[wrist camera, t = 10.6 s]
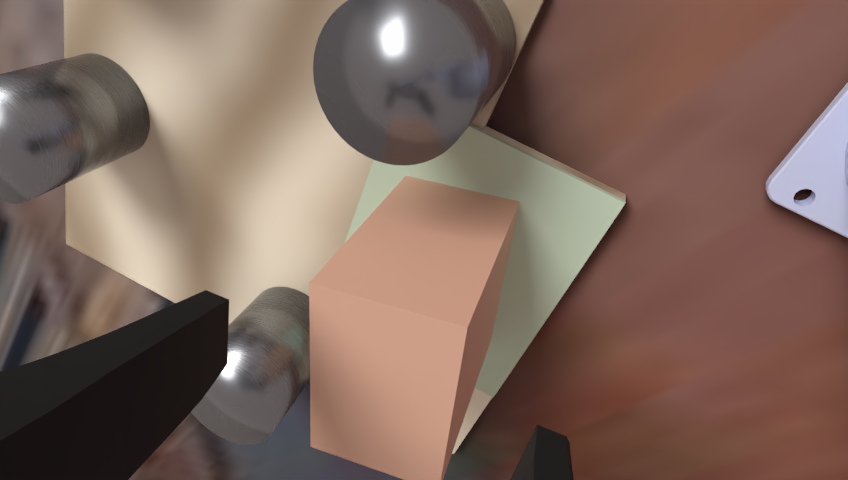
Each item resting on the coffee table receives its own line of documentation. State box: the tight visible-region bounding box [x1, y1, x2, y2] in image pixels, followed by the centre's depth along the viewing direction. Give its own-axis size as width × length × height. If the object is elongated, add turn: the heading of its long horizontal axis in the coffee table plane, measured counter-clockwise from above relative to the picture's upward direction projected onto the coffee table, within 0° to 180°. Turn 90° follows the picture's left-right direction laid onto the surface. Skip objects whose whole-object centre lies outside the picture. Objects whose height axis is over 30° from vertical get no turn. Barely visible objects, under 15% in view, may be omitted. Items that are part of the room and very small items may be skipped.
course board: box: [0, 0, 626, 454], centre depth 20 cm, size 21×19×6 cm
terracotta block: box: [309, 176, 520, 480], centre depth 18 cm, size 4×6×7 cm, turn 175°
